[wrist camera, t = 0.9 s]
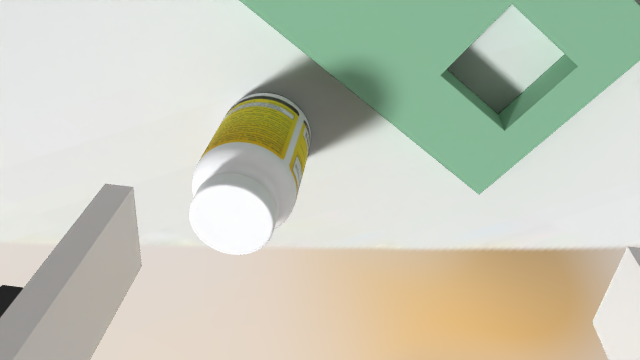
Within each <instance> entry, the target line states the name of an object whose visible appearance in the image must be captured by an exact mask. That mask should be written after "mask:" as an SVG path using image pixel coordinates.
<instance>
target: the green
mask: <svg viewBox="0 0 640 360" xmlns="http://www.w3.org/2000/svg"><path fill="white" fill-rule="evenodd" d="M240 1H241V2H242V3H243V4H245V5H246V6H247V7H248V8H250V9H251V10H252V11H253V12H254V13H256V14H257V15H258V16H259V17H261V18H262V19H263V20H264V21H266V22H267V23H268V24H269V25H270V26H272V27H273V28H274V29H275V30H277V31H278V32H279V33H280V34H282V35H283V36H284V37H285V38H287V39H288V40H289V41H290V42H291V43H293V44H294V45H295V46H296V47H298V48H299V49H300V50H301V51H303V52H304V53H305V54H306V55H307V56H309V57H310V58H311V59H312V60H314V61H315V62H316V63H317V64H319V65H320V66H321V67H322V68H324V69H325V70H326V71H327V72H328V73H330V74H331V75H332V76H333V77H335V78H336V79H337V80H338V81H340V82H341V83H342V84H343V85H344V86H346V87H347V88H348V89H349V90H351V91H352V92H353V93H354V94H356V95H357V96H358V97H359V98H361V99H362V100H363V101H364V102H365V103H367V104H368V105H369V106H370V107H372V108H373V109H374V110H375V111H377V112H378V113H379V114H380V115H381V116H383V117H384V118H385V119H386V120H388V121H389V122H390V123H391V124H393V125H394V126H395V127H396V128H398V129H399V130H400V131H401V132H402V133H404V134H405V135H406V136H407V137H409V138H410V139H411V140H412V141H414V142H415V143H416V144H417V145H419V146H420V147H421V148H422V149H423V150H425V151H426V152H427V153H428V154H430V155H431V156H432V157H433V158H435V159H436V160H437V161H438V162H439V163H441V164H442V165H443V166H444V167H446V168H447V169H448V170H449V171H451V172H452V173H453V174H454V175H456V176H457V177H458V178H459V179H460V180H462V181H463V182H464V183H465V184H467V185H468V186H469V187H470V188H472V189H473V190H474V191H475V192H476V193H478V194H480V193H482V192H483V191H484V190H485V189H486V188H488V187H489V186H490V185H491V184H492V183H494V182H495V181H496V180H497V179H498V178H500V177H501V176H502V175H503V174H504V173H506V172H507V171H508V170H509V169H510V168H512V167H513V166H514V165H515V164H516V163H518V162H519V161H520V160H521V159H522V158H523V157H525V156H526V155H527V154H528V153H529V152H531V151H532V150H533V149H534V148H535V147H537V146H538V145H539V144H540V143H541V142H543V141H544V140H545V139H546V138H547V137H549V136H550V135H551V134H552V133H553V132H555V131H556V130H557V129H558V128H559V127H561V126H562V125H563V124H564V123H565V122H567V121H568V120H569V119H570V118H571V117H573V116H574V115H575V114H576V113H577V112H579V111H580V110H581V109H582V108H583V107H585V106H586V105H587V104H588V103H589V102H591V101H592V100H593V99H594V98H595V97H596V96H598V95H599V94H600V93H601V92H602V91H604V90H605V89H606V88H607V87H608V86H610V85H611V84H612V83H613V82H614V81H616V80H617V79H618V78H619V77H620V76H622V75H623V74H624V73H625V72H626V71H628V70H629V69H630V68H631V67H632V66H634V65H635V64H636V63H637V62H638V61H640V5H639V4H638V3H637V2H636V1H635V0H240ZM511 4H513V5H514V6H515V7H516V8H517V9H518V10H519V11H520V12H521V13H522V14H523V15H524V16H525V17H526V18H528V19H529V20H530V21H531V22H532V23H533V24H534V25H535V26H536V27H537V28H538V29H539V30H540V31H541V32H542V33H543V34H544V35H546V36H547V37H548V38H549V39H550V40H551V41H552V42H553V43H554V44H555V45H556V46H557V47H558V48H559V49H560V50H561V51H562V52H563V53H565V55H564V56H562V57H561V58H560V59H559V60H558V61H557V62H556V63H555V64H554V65H552V66H551V67H550V68H549V69H548V70H547V71H546V72H545V73H544V74H543V75H541V76H540V77H539V78H538V79H537V80H536V81H535V82H534V83H533V84H531V85H530V86H529V87H528V88H527V89H526V90H525V91H524V92H523V93H521V94H520V95H519V96H518V97H517V98H516V99H515V100H514V101H513V102H512V103H510V104H509V105H508V106H507V107H506V108H505V109H504V110H503V111H502V112H500V113H499V114H497V113H496V112H495V111H494V110H493V109H491V108H490V107H489V106H488V105H487V104H486V103H485V102H483V101H482V100H481V99H480V98H479V97H478V96H477V95H475V94H474V93H473V92H472V91H471V90H470V89H468V88H467V87H466V86H465V85H464V84H463V83H462V82H460V81H459V80H458V79H457V78H456V77H455V76H454V75H452V74H451V73H450V72H449V71H448V70H447V68H448V67H449V66H450V65H451V64H452V63H453V62H454V61H455V60H456V59H457V58H458V57H459V56H460V55H461V54H462V53H463V52H464V51H465V50H466V49H467V48H468V47H469V46H470V45H471V44H472V43H473V42H474V41H475V40H476V39H477V38H478V37H479V36H480V35H481V34H482V33H483V32H484V31H485V30H486V29H487V28H488V27H489V26H490V25H491V24H492V23H493V22H494V21H495V20H496V19H497V18H498V17H499V16H500V15H501V14H502V13H503V12H504V11H505V10H506V9H507V8H508V7H509V6H510V5H511Z"/></svg>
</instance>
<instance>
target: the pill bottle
mask: <svg viewBox="0 0 640 360" xmlns="http://www.w3.org/2000/svg"><path fill="white" fill-rule="evenodd" d="M310 143H311V131H310V126H309V123H308V121H307V119H306V117H305V115H304V114H303V112H302V111H301V110H300V109H299V108H298V106H296V105H295V104H294V103H293V102H291V101H290V100H288V99H287V98H285V97H282V96H279V95H276V94H271V93H257V94H252V95H249V96H246V97H244V98H242V99H241V100H239V101H238V102H236V103H235V104H234V105H233V106H232V107H231V109H230V110H229V111H228V113H227V114H226V116H225V118H224V119H223V121H222V123H221V125H220V126H219V128H218V130H217V131H216V133H215V135H214V137H213V138H212V140H211V142H210V143H209V145H208V147H207V148H206V150H205V152H204V154H203V155H202V157H201V159H200V160H199V162H198V164H197V166H196V169H195V171H194V175H193V180H192V190H193V195H194V198H193V200H192V202H191V205H190V210H189V217H190V222H191V225H192V227H193V229H194V231H195V233H196V234H197V235H198V237H199V238H200V239H201V240H202V241H203V242H204V243H206V244H207V245H208V246H210V247H212V248H213V249H215V250H218V251H220V252H223V253H227V254H233V255H241V254H248V253H252V252H255V251H257V250H259V249H260V248H262V247H263V246H264V245H265V244H266V243H267V242H268V241H269V239H270V238H271V236H272V233H273V231H274V229H275V228H277V227H278V226H280V225H281V224H282V223H283V222H284V221H285V220H286V219H287V218H288V217H289V215H290V213H291V212H292V209H293V207H294V205H295V202H296V198H297V194H298V190H299V186H300V183H301V179H302V175H303V171H304V168H305V164H306V160H307V157H308V152H309V148H310Z"/></svg>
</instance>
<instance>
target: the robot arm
mask: <svg viewBox="0 0 640 360" xmlns="http://www.w3.org/2000/svg"><path fill="white" fill-rule="evenodd" d="M141 266H142V265H141V256H140V246H139V236H138V227H137V218H136V209H135V199H134V190H133V187H128V186H119V185H111V184H105V185H104V186H103V187H102V189H101V190H100V191H99V192H98V194H97V195H96V196H95V198H94V199H93V200H92V201H91V203H90V204H89V205H88V206H87V208H86V209H85V210H84V212H83V213H82V214H81V215H80V217H79V218H78V219H77V221H76V222H75V223H74V224H73V226H72V227H71V228H70V229H69V231H68V232H67V233H66V235H65V236H64V237H63V238H62V240H61V241H60V242H59V243H58V245H57V246H56V247H55V249H54V250H53V251H52V253H51V254H50V255H49V256H48V258H47V259H46V260H45V261H44V263H43V264H42V265H41V266H40V268H39V269H38V270H37V272H36V273H35V274H34V275H33V277H32V278H31V279H30V281H29V282H28V283H27V284H26V286H25V287H24V288H22V287H14V286H5V285H2V286H1V287H0V360H90V359H91V357H92V355H93V353H94V352H95V350H96V348H97V346H98V344H99V342H100V341H101V339H102V337H103V335H104V333H105V332H106V330H107V328H108V326H109V324H110V323H111V321H112V319H113V317H114V315H115V314H116V312H117V310H118V308H119V306H120V304H121V302H122V301H123V299H124V297H125V295H126V294H127V292H128V290H129V288H130V286H131V284H132V283H133V281H134V279H135V277H136V275H137V274H138V272H139V270H140V268H141ZM593 325H594V327H595V330H596V332H597V334H598V337H599V339H600V341H601V344H602V346H603V348H604V351H605V353H606V355H607V358H608V360H640V248H635V247H627V249H626V251H625V253H624V255H623V258H622V260H621V262H620V264H619V266H618V268H617V271H616V272H615V275H614V277H613V279H612V281H611V283H610V286H609V287H608V290H607V292H606V294H605V296H604V298H603V300H602V303H601V305H600V307H599V309H598V311H597V313H596V316H595V317H594V320H593Z"/></svg>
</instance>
